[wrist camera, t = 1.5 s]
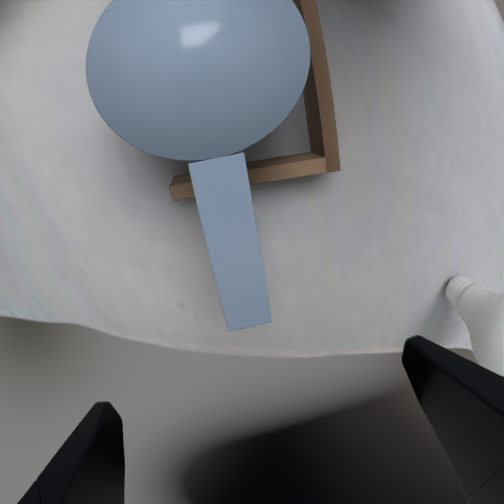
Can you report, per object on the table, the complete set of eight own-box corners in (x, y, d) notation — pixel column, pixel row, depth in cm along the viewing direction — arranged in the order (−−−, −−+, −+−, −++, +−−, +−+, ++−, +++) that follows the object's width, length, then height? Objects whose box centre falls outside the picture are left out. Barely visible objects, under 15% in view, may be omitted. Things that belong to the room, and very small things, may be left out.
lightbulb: (433, 255, 22) (527, 336, 12) (479, 248, 23) (564, 313, 13) (418, 317, 25) (488, 403, 15) (463, 304, 25) (531, 375, 15)
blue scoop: (118, 28, 13) (77, -8, 7) (260, 1, 13) (289, -48, 7) (174, 274, 20) (165, 342, 14) (297, 249, 20) (334, 306, 14)
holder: (293, -31, 12) (303, -46, 10) (325, 163, 18) (340, 170, 16) (139, -11, 12) (132, -25, 10) (176, 191, 17) (172, 201, 15)
